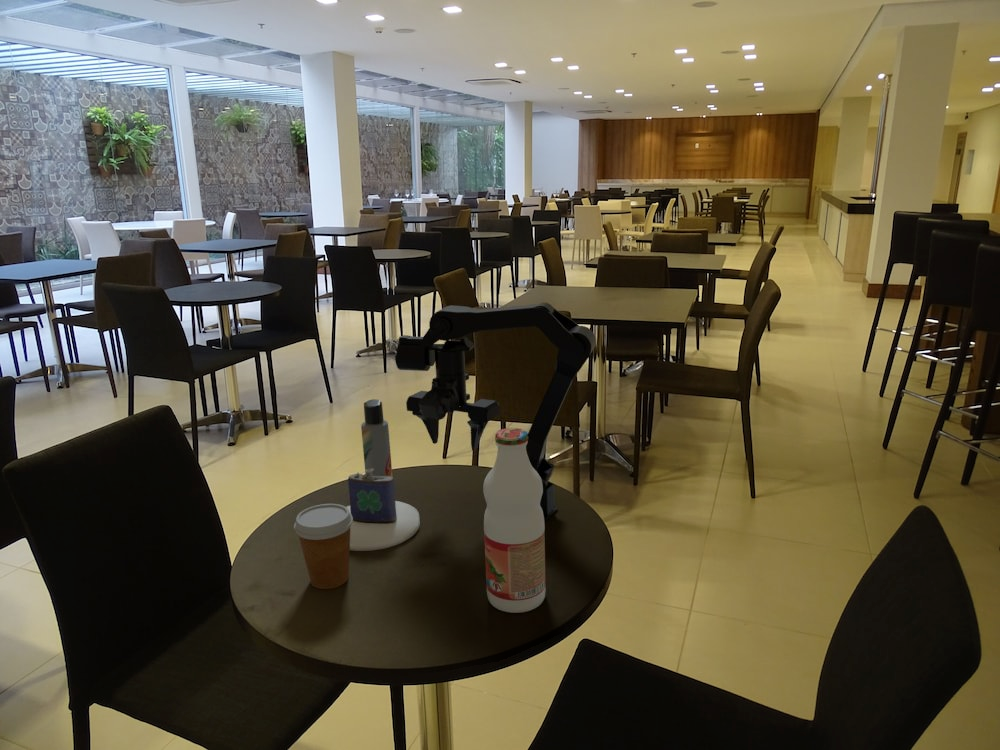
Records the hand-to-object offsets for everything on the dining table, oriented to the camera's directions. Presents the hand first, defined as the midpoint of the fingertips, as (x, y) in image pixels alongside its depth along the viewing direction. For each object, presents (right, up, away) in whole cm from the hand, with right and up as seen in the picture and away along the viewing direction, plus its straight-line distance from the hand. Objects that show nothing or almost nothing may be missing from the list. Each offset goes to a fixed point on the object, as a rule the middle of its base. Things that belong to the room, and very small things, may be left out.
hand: (454, 446), depth 143 cm
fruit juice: (+12, -21, -29) cm, 38 cm away
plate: (-15, -15, -4) cm, 22 cm away
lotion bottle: (-17, -11, +13) cm, 24 cm away
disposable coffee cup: (-20, -21, -22) cm, 36 cm away
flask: (-15, -14, -5) cm, 21 cm away
